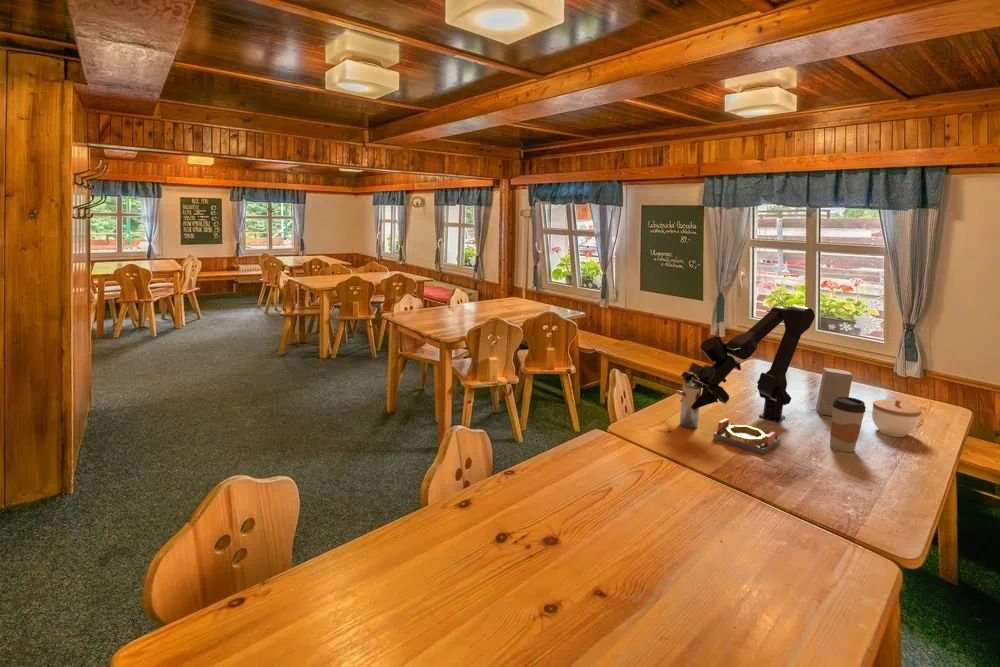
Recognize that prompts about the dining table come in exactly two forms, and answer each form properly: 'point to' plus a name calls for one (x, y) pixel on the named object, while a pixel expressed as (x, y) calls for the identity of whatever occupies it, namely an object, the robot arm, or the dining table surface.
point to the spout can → (689, 404)
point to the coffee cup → (846, 423)
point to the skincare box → (832, 389)
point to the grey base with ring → (746, 437)
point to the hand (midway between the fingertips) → (686, 405)
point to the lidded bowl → (895, 417)
